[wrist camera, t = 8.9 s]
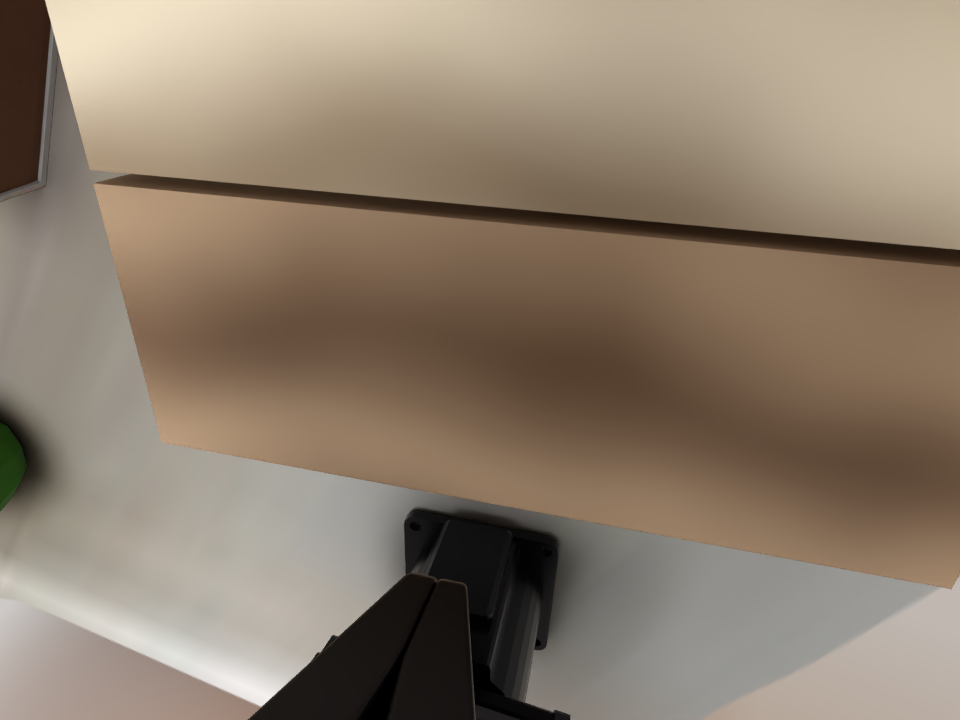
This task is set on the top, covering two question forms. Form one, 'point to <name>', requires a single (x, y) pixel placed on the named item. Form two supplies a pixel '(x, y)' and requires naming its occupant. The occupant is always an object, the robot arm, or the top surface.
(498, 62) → the pale plank
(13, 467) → the bell pepper
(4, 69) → the food container
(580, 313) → the floor platform
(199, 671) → the top surface
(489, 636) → the robot arm
